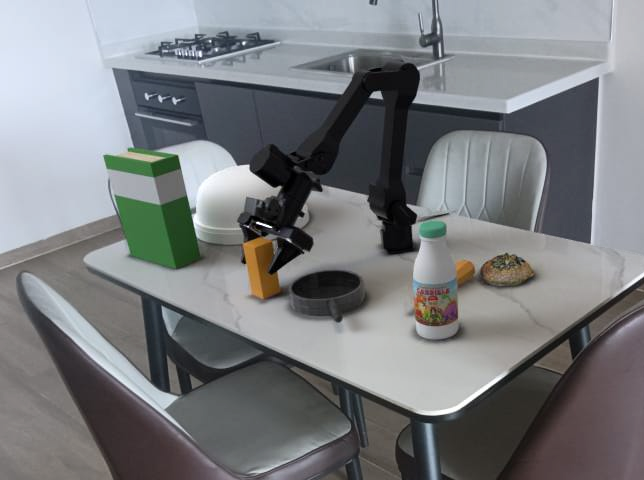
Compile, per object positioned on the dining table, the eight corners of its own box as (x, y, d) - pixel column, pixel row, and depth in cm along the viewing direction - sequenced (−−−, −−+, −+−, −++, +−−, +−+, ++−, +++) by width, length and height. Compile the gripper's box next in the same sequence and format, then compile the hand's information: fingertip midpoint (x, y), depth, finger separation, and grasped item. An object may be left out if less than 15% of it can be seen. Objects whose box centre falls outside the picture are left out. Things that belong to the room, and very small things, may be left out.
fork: (460, 211, 188) (460, 204, 187) (379, 234, 178) (378, 227, 177) (452, 208, 191) (452, 201, 190) (372, 231, 181) (371, 224, 180)
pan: (357, 282, 155) (355, 265, 153) (371, 310, 142) (369, 293, 140) (287, 293, 152) (285, 276, 150) (295, 323, 140) (293, 305, 138)
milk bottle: (413, 323, 136) (407, 219, 126) (455, 319, 137) (451, 214, 126) (418, 342, 130) (412, 234, 119) (461, 338, 130) (459, 229, 120)
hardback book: (130, 255, 179) (103, 155, 166) (155, 245, 183) (130, 147, 171) (176, 268, 169) (150, 163, 156) (201, 258, 174) (178, 154, 161)
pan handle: (327, 305, 141) (326, 298, 140) (336, 304, 141) (335, 296, 140) (335, 324, 134) (334, 316, 133) (343, 323, 134) (342, 315, 133)
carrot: (465, 278, 154) (456, 258, 152) (481, 274, 151) (473, 254, 149) (408, 324, 142) (398, 303, 141) (425, 321, 139) (415, 300, 137)
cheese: (269, 289, 155) (260, 237, 149) (281, 293, 152) (272, 241, 146) (252, 296, 152) (242, 243, 146) (263, 301, 150) (254, 247, 144)
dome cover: (167, 233, 190) (154, 179, 183) (248, 199, 211) (239, 149, 203) (256, 252, 174) (246, 193, 167) (335, 213, 194) (329, 159, 187)
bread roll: (489, 262, 158) (492, 240, 155) (539, 274, 154) (543, 252, 151) (470, 284, 150) (473, 262, 147) (522, 298, 146) (526, 275, 143)
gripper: (235, 172, 148) (200, 241, 148) (293, 186, 137) (255, 261, 136) (273, 200, 157) (240, 265, 157) (330, 215, 145) (294, 286, 145)
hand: (255, 268), depth 148 cm, fingers open, 9 cm apart
